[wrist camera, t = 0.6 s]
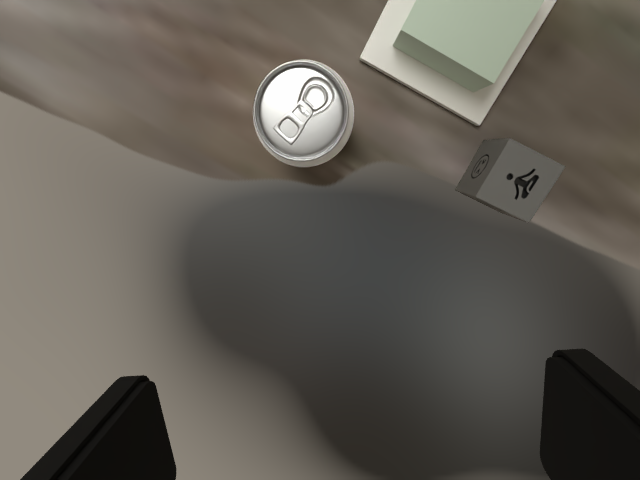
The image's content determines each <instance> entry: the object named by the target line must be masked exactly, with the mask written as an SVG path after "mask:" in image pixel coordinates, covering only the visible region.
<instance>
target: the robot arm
mask: <svg viewBox="0 0 640 480" xmlns="http://www.w3.org/2000/svg"><path fill="white" fill-rule="evenodd" d="M540 458H541V462H542V465H543V467H544V469H545V471H546V473H547V474H548V476H549V478H550V479H551V480H640V391H639V390H638V389H637V388H635V387H634V386H633V385H631V384H630V383H629V382H628V381H626V380H625V379H624V378H622V377H621V376H620V375H619V374H617V373H616V372H615V371H614V370H612V369H611V368H610V367H609V366H607V365H606V364H605V363H603V362H602V361H601V360H600V359H598V358H597V357H595V355H593V354H592V353H591V352H589V351H588V350H586V349H570V350H557V351H555V352H554V353H553V356H552V357H550V358H548V359H547V360H546V368H545V382H544V397H543V412H542V428H541V442H540ZM175 479H176V465H175V462H174V457H173V453H172V449H171V445H170V441H169V437H168V433H167V429H166V425H165V421H164V417H163V413H162V409H161V405H160V401H159V397H158V393H157V389H156V385H155V383H154V382H152V381H149V378H147V376H144V375H143V376H126V377H120V378H119V379H117V380H116V381H115V382H114V383H113V384H112V385H111V386H110V387H109V388H108V389H107V390H106V392H104V394H103V395H102V396H101V397H100V398H99V399H98V400H97V401H96V402H95V403H94V404H93V405H92V406H91V407H90V408H89V409H88V410H87V411H86V412H85V413H84V414H83V415H82V416H81V417H80V418H79V419H78V420H77V422H76V423H75V424H74V425H73V426H72V427H71V428H70V429H69V430H68V431H67V432H66V433H65V434H64V435H63V436H62V437H61V438H60V439H59V440H58V441H57V442H56V443H55V444H54V445H53V446H52V447H51V448H50V449H49V450H48V452H47V453H46V454H45V455H44V456H43V457H42V458H41V459H40V460H39V461H38V462H37V463H36V464H35V465H34V466H33V467H32V468H31V469H30V470H29V471H28V472H27V473H26V474H25V475H24V476H23V477H22V479H20V480H175Z"/></svg>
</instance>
